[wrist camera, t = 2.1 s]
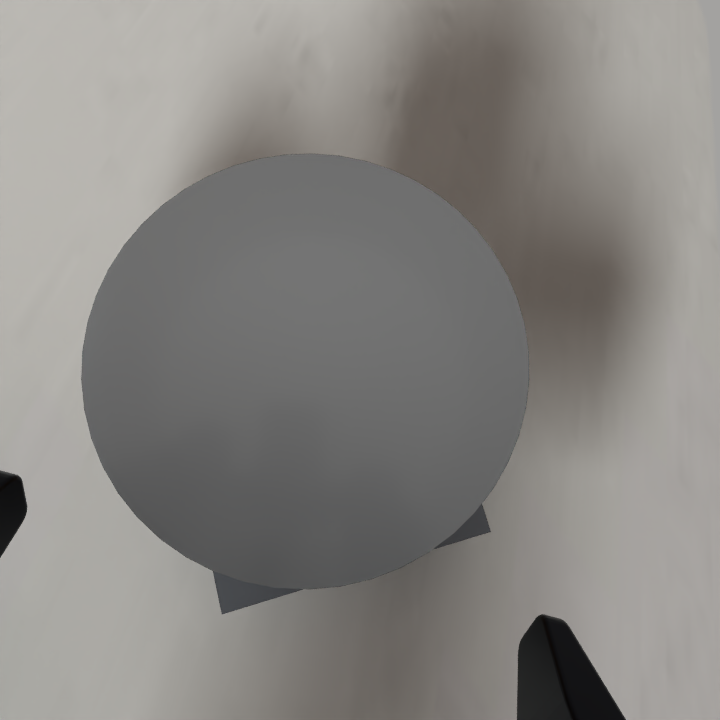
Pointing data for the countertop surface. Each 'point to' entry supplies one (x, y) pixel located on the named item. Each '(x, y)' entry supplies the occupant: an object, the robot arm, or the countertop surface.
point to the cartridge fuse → (305, 371)
